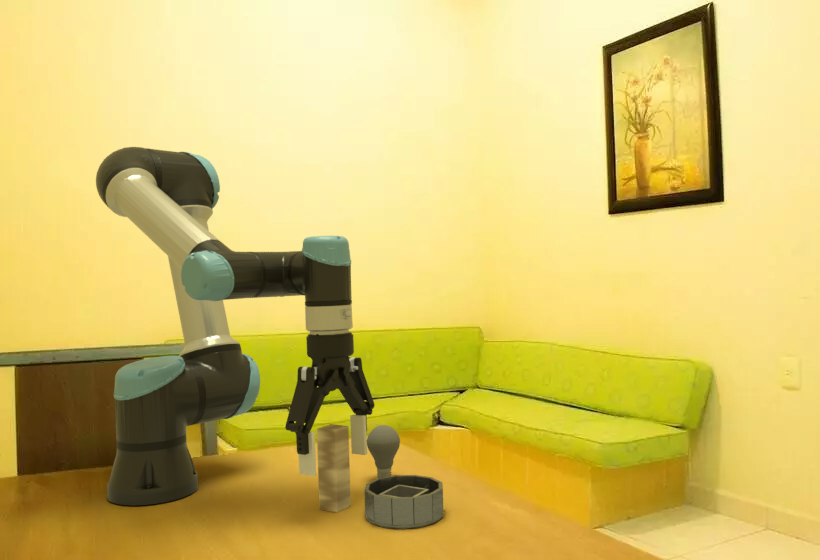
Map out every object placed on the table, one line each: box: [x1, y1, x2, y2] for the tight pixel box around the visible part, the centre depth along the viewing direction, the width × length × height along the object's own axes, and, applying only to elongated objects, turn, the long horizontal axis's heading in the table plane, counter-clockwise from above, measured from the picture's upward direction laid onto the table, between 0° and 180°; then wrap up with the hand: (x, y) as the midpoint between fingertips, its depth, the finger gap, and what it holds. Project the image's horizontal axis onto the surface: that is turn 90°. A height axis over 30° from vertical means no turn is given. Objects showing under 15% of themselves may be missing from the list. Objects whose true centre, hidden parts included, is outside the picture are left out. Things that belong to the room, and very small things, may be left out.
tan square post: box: [316, 423, 352, 513], centre depth 116 cm, size 4×4×13 cm
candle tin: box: [363, 474, 444, 530], centre depth 111 cm, size 12×12×4 cm
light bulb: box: [367, 424, 401, 479], centre depth 130 cm, size 6×6×10 cm
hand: (334, 464), depth 116 cm, fingers open, 13 cm apart
